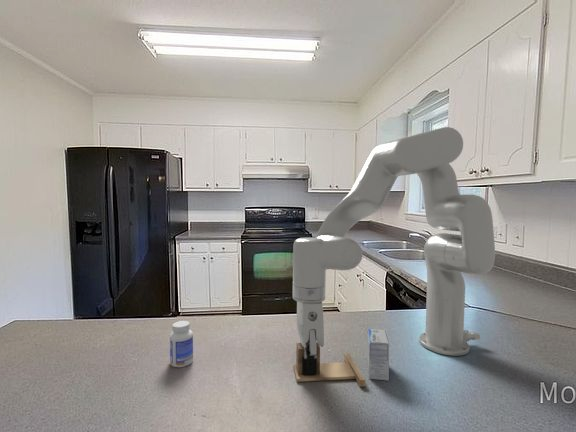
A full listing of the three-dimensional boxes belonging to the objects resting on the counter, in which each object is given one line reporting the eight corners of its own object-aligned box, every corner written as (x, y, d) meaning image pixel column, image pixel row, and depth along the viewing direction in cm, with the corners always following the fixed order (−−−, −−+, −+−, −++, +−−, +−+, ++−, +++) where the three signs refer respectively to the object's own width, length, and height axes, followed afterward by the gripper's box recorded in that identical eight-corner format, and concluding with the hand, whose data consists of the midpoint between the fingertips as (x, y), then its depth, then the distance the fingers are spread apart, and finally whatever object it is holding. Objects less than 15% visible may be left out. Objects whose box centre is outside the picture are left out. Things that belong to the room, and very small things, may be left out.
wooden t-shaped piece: (348, 358, 78) (349, 332, 78) (365, 386, 66) (365, 356, 66) (291, 360, 76) (292, 334, 76) (298, 390, 64) (298, 359, 64)
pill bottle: (197, 358, 77) (197, 321, 77) (183, 369, 72) (183, 329, 72) (179, 355, 79) (179, 318, 78) (165, 365, 74) (164, 326, 73)
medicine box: (388, 381, 68) (390, 343, 68) (368, 379, 69) (369, 341, 69) (385, 363, 76) (385, 329, 75) (366, 361, 77) (367, 327, 76)
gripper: (334, 303, 62) (332, 390, 63) (317, 282, 78) (316, 352, 79) (297, 304, 61) (296, 392, 62) (288, 282, 78) (287, 353, 78)
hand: (307, 369), depth 71 cm, fingers closed on wooden t-shaped piece, 3 cm apart
